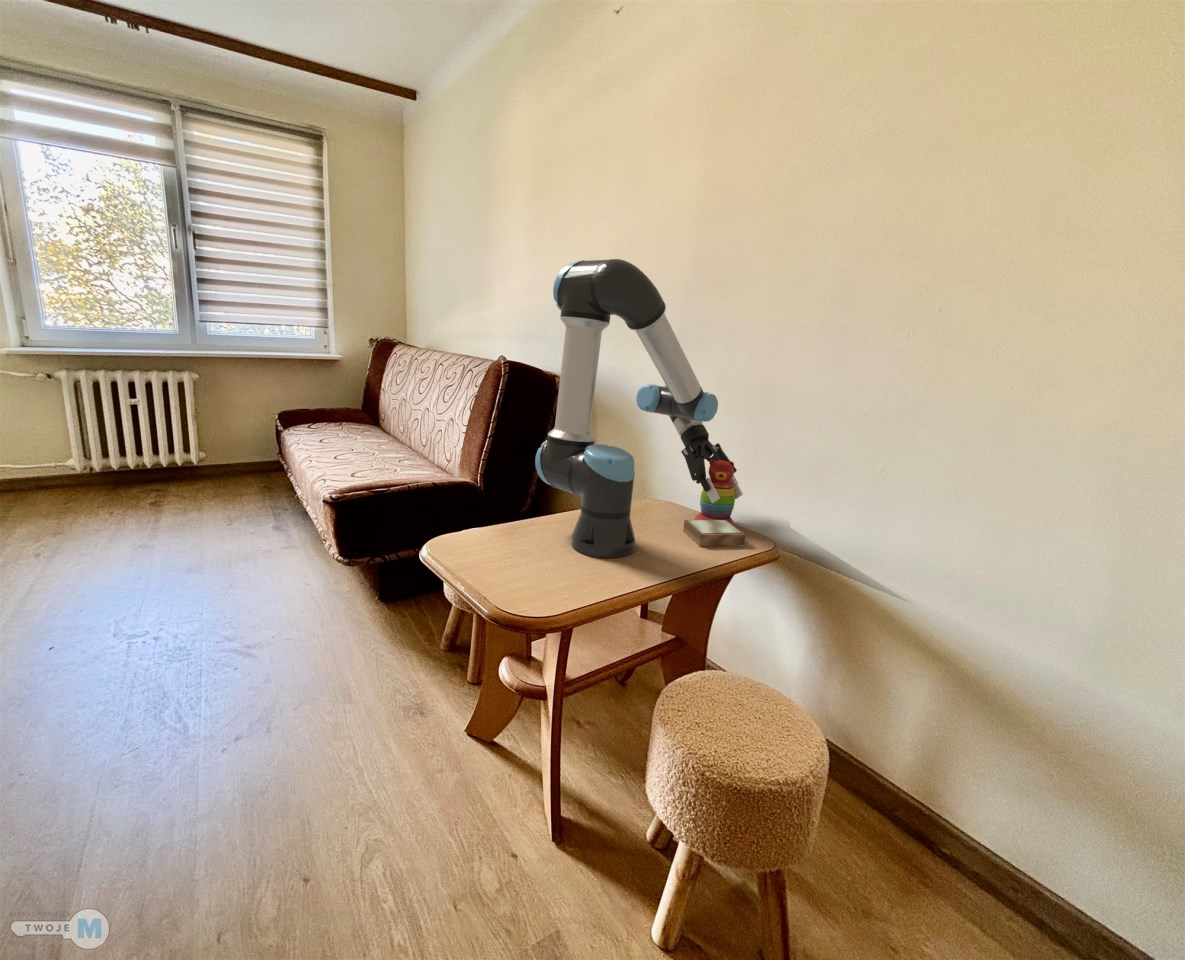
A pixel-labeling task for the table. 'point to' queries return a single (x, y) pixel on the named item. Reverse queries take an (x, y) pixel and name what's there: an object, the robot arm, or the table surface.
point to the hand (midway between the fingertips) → (727, 498)
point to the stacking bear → (719, 493)
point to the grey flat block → (713, 533)
